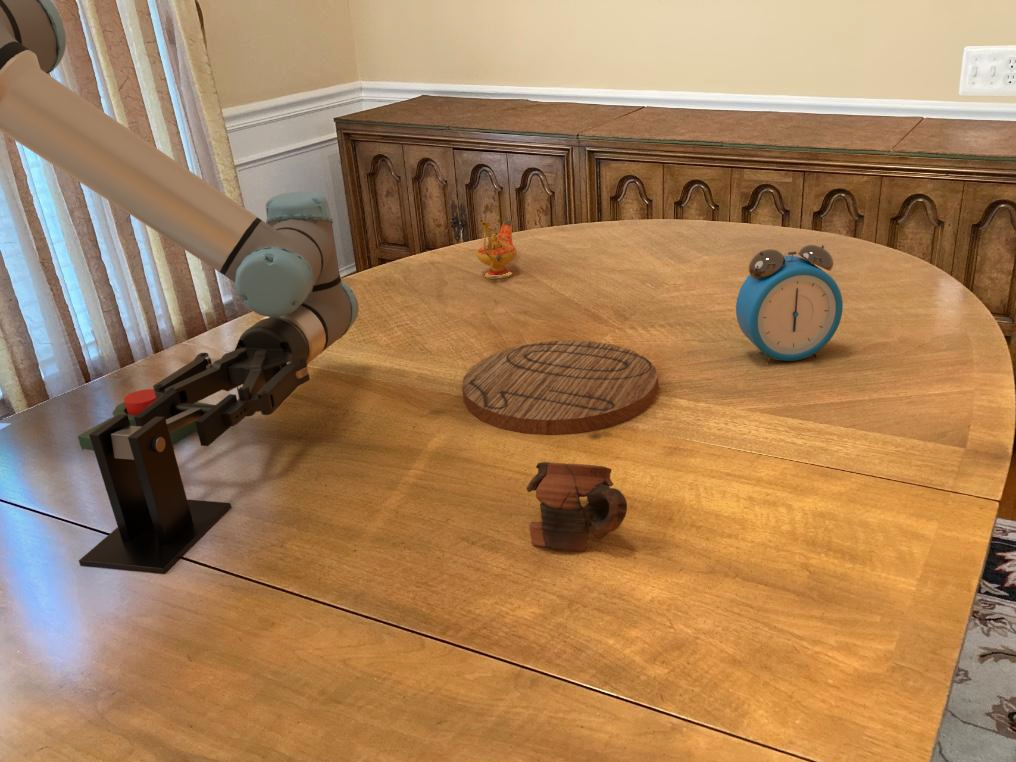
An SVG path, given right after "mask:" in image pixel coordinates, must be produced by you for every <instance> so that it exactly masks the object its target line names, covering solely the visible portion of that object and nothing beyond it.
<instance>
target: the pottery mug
mask: <svg viewBox="0 0 1016 762" xmlns="http://www.w3.org/2000/svg"><path fill="white" fill-rule="evenodd" d="M535 468H536V469H537V474H535V475H534V477H532V478H531V480H530V481H529V482H528V485H527V486H526V491H527V492H528V493H531V492H532V491H533V492H535V497H536V500H537V501H538V502H540V504H539V505H540V506H539V508H540V517H541V521H531V522H530V523H529V534H530V539H531V545H534V546H537V547H545V548H553V549H555V550H561V551H575V552H583V551H584V552H585V551H586V550H587V541H588V539H589V535H590V534H591V535H592V536H593V538H595V539H597V540H601V539H604V538H605V537H606V536H608V534H609V533H611V532H612V533H613V532H614V531H616V530H617V529H618V528H619V527H620V526H621V525H622V524H623V522H624V520H625V518H626V515H627V512H628V503H627V499H626V497H625V495H624V494H623V493H622V492H621V491H620V490H619V489H617V488H614V487H613V488H612V486H614V483H613V481H612V480H611V474H612V468H609V467H606V466H602V465H595V464H582V463H581V464H580V463H563V462H549V461H543V462H538V463H537V464H536V466H535ZM585 497H586V500H587V504H585V505H583V506H582V504H581V500H580V498H585Z"/></svg>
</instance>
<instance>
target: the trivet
mask: <svg viewBox="0 0 1016 762" xmlns="http://www.w3.org/2000/svg"><path fill="white" fill-rule="evenodd" d="M461 389H462V398H463V403H464V405H465V407H466V408H467V411H468V412H469V413H470V414H472V415H473V416H474V417H476V418H477V419H478V420H479V421H481V422H483V423H486V424H488V425H490V426H493V427H496V428H498V429H502V430H507V431H513V432H516V433H522V434H535V435H549V436H550V435H565V434H566V435H567V434H580V433H585V432H590V431H596V430H597V431H598V430H602V429H606V428H610V427H612V426H615V425H618V424H621V423H624V422H627V421H629V420H631V419H632V418H634V417H636V416H638V415H639V414H641V413H643V412H645V411H646V410H647V408H649V407H650V406H651V405H652V403H654V402H655V399H656V396H657V394H658V391H659V376H658V373H657V368H656V365H654V364H653V363H652V362H651V361H650V360H649V359H648V358H647V357H645V356H644V355H642V354H640V353H638V352H636V351H635V350H633V349H629V348H626V347H623V346H619V345H617V344H612V343H606V342H600V341H599V342H598V341H593V340H592V341H591V340H571V339H568V340H550V341H549V340H548V341H541V342H533V343H527V344H522V345H518V346H514V347H511V348H510V347H509V348H507V349H503V350H500V351H498V352H496V353H493V354H491V355H489V356H486V357H484V358H482V359H481V360H479V361H478V362H477V363H475V364H474V365H472V366H470V368H469V369H468V370H467V372H466V373H465V375H463V380H462V387H461Z"/></svg>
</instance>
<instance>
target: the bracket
mask: <svg viewBox="0 0 1016 762" xmlns="http://www.w3.org/2000/svg"><path fill="white" fill-rule="evenodd" d="M113 417H114V416H113ZM111 418H112V417H111ZM128 426H131V425H130V422H129V418H128V415H125V414H118V415H116V416H115V417H114V418H112V419H111V420H109V421H108V422H106V423H105V424H104V425H102V426H101V427H99V428H98V429H96V430H95V431H94V432H92V433H91V434H89V436H90V439H91V443H92V446H93V449H94V450H93V452H94V455H95V459H96V462H97V465H98V468H99V471H100V474H101V478H102V480H103V484H104V488H105V490H106V495H107V497H108V501H109V503H110V507H111V510H112V513H113V517H114V519H115V522H116V526H117V527H115V529H114V530H112V531H111V532H110V533H109V534H108V535H106V537H104V538H103V539H102V540H100V542H98V543H97V544H96V545H95V546H94V547H93V548H91V549H90V550H89V551H88V552H87V553H86V554H84V555H83V556H82V557H81V558H80V559H79V560H78V563H79V565H80V567H89V568H98V569H109V570H119V571H130V572H141V573H149V574H161V575H165V574H167V573H168V572H169V571H170V570H171V569H172V567H174V566H175V565H176V564H177V563H178V562H179V561H180V560H181V559H182V558H183V557H184V556H185V555H186V554H187V553H188V552H189V551H190V550H191V549H192V548H193V547H194V546H195V545H196V544H197V543H198V542H199V541H200V540H202V538H203V537H204V536H205V535H206V534H207V533H208V532H209V531H210V530H211V529H213V527H214V526H215V525H216V524H217V523H218V522H220V520H221V519H223V517H224V516H225V515H227V513H228V512H229V511H230V510H231V509H232V503H231V502H224V501H212V500H202V499H201V500H198V499H189V498H187V494H186V490H185V486H184V482H183V479H182V476H181V475H182V474H181V472H180V468H179V464H178V460H177V456H176V453H175V450H174V445H172V442H171V438H170V434H169V431H168V427H167V423H166V419H165V417H155V418H153V419H152V420H151V421H149V422H148V423H146V424H145V425H144V426H142V427H141V428H140V429H138V430H137V431H136V432H134V433H133V434H132V435H130V436H129V437H128V440H129V443H130V447H131V450H132V454H133V457H134V460H130V459H116V458H114V452H113V446H112V439H111V434H112V433H115V432H117V431H119V430H122V429H124V428H126V427H128Z"/></svg>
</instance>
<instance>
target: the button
mask: <svg viewBox="0 0 1016 762" xmlns="http://www.w3.org/2000/svg"><path fill="white" fill-rule="evenodd" d="M154 401H156V396H155V392H154V388H147V389H140V390H136V391H132V392H131V393H127V395H126V396H125V397H123V403H124V402H125V406H126V409H127V412H128V414H130V415H138V414H139V413H141V412H142V411H144V410H145V409H146V408H147V407H148V406H149V405H150V404H152V403H153V402H154Z"/></svg>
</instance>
